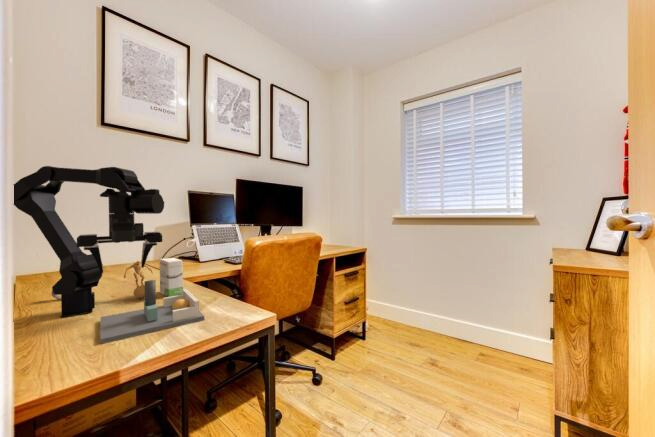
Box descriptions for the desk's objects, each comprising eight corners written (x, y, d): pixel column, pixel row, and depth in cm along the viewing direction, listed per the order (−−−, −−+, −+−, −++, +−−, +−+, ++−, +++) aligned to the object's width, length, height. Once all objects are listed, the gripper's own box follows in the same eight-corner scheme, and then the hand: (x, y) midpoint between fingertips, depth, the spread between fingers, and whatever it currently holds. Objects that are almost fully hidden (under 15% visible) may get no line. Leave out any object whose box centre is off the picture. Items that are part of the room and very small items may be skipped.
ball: (190, 300, 76) (189, 315, 76) (187, 296, 79) (185, 311, 79) (174, 301, 74) (172, 317, 74) (171, 298, 77) (169, 312, 77)
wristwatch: (49, 301, 88) (49, 285, 87) (56, 298, 90) (55, 283, 90) (72, 300, 89) (72, 284, 89) (78, 297, 92) (77, 282, 91)
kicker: (147, 321, 68) (146, 285, 68) (143, 312, 74) (142, 279, 74) (158, 319, 70) (157, 283, 70) (153, 310, 76) (153, 277, 76)
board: (100, 343, 60) (100, 339, 60) (100, 320, 72) (100, 317, 72) (204, 319, 73) (204, 316, 73) (189, 303, 85) (189, 300, 85)
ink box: (183, 294, 95) (183, 259, 95) (168, 297, 92) (167, 261, 91) (174, 289, 101) (173, 257, 101) (159, 292, 97) (158, 258, 97)
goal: (173, 321, 69) (173, 305, 69) (163, 306, 80) (163, 292, 80) (199, 315, 73) (198, 300, 73) (186, 302, 84) (186, 289, 84)
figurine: (128, 302, 86) (128, 264, 86) (121, 299, 90) (120, 261, 90) (157, 296, 93) (157, 260, 93) (149, 292, 97) (149, 258, 96)
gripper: (74, 214, 65) (76, 280, 66) (165, 213, 77) (166, 269, 78) (77, 213, 74) (78, 272, 74) (158, 213, 86) (159, 264, 86)
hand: (122, 269), depth 78 cm, fingers open, 9 cm apart
